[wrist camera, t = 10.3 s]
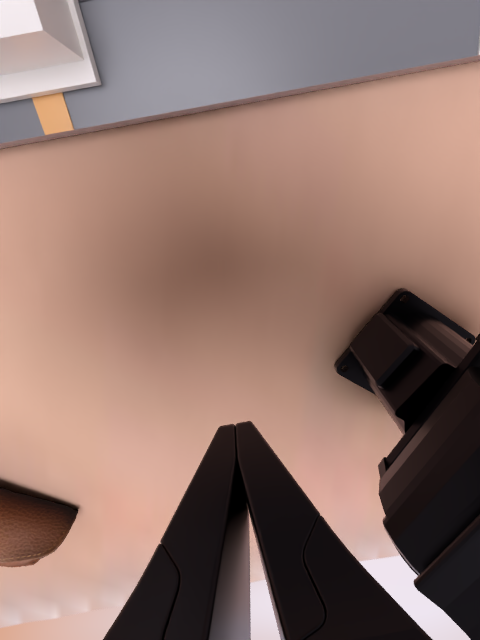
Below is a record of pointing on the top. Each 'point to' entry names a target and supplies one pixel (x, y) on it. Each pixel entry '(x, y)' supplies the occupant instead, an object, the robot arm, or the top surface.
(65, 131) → the fader track
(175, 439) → the top surface
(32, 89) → the fader knob
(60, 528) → the sunglasses case
